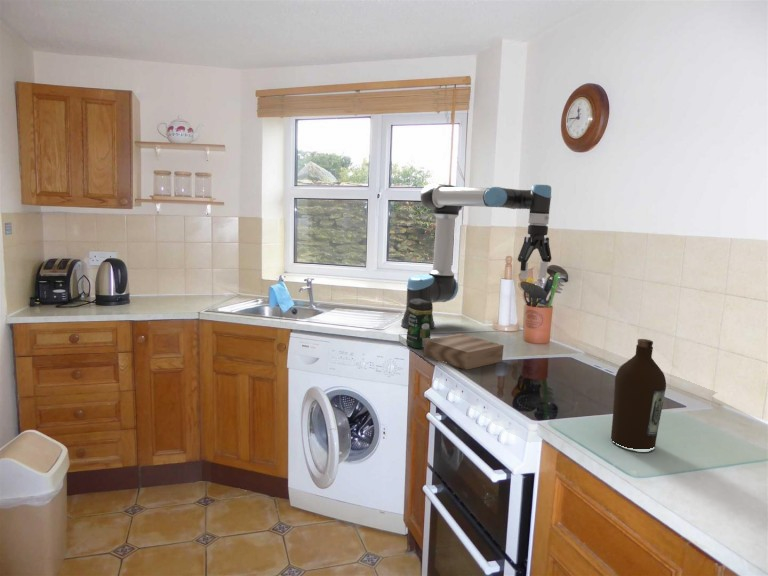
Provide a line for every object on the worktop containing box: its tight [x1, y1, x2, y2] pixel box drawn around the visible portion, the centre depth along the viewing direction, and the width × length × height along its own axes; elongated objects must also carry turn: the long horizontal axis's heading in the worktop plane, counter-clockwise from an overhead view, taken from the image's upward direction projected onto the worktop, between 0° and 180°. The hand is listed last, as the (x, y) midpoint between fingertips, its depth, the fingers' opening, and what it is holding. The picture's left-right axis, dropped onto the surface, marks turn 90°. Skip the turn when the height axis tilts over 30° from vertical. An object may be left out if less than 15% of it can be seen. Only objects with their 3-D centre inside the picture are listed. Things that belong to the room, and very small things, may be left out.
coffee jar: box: [406, 299, 434, 350], centre depth 205 cm, size 10×8×19 cm
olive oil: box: [610, 338, 667, 449], centre depth 123 cm, size 11×11×25 cm
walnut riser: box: [423, 333, 504, 371], centre depth 191 cm, size 20×20×6 cm
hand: (533, 278), depth 211 cm, fingers open, 13 cm apart
